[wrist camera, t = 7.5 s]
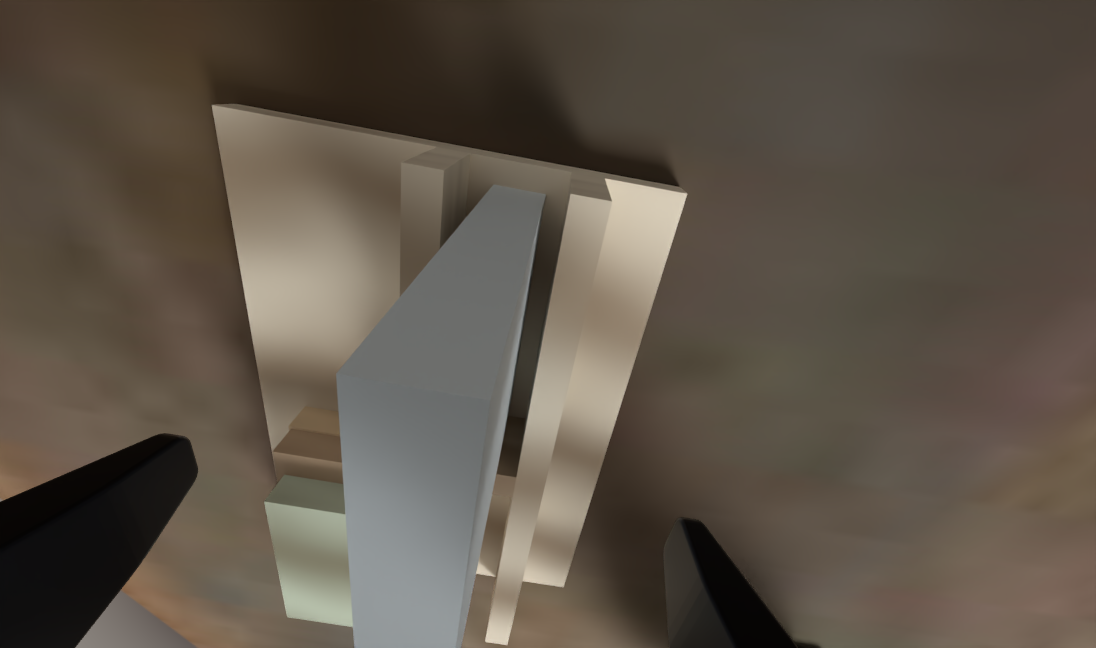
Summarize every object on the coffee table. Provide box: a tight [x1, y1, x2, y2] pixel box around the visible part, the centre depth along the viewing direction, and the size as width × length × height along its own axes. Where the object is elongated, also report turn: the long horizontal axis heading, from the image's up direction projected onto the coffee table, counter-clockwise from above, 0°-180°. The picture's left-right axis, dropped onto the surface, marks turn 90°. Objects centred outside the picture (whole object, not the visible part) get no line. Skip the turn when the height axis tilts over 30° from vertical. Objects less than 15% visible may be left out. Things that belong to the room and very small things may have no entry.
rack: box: [212, 104, 687, 645], centre depth 17 cm, size 20×14×4 cm
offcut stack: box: [264, 406, 353, 627], centre depth 18 cm, size 9×4×4 cm, turn 170°
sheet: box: [336, 185, 546, 648], centre depth 11 cm, size 8×2×10 cm, turn 170°
